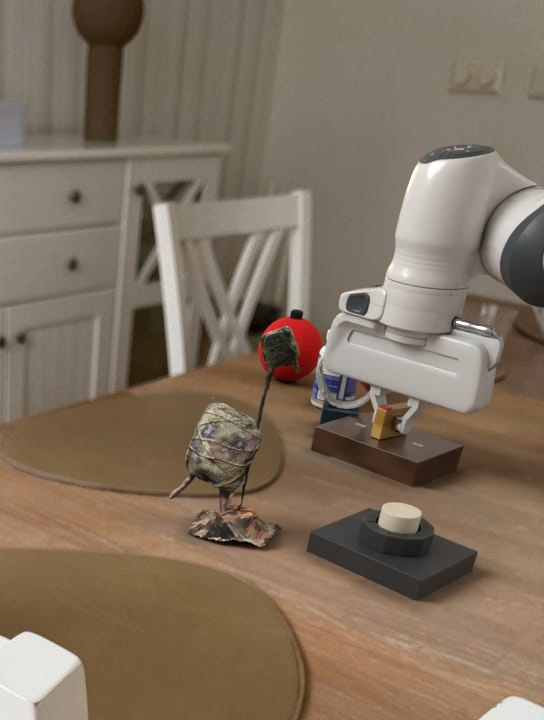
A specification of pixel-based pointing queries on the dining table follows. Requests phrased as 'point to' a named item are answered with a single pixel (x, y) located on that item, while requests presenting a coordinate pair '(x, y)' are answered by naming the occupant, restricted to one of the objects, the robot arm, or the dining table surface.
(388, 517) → the bell button
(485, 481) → the dining table surface
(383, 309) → the robot arm
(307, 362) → the ornament
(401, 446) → the plate
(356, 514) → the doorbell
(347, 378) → the pill bottle
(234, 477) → the stone sculpture
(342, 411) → the watch
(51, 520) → the dining table surface
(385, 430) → the block
